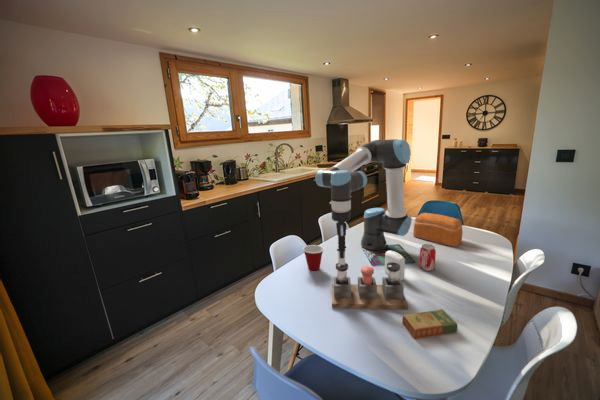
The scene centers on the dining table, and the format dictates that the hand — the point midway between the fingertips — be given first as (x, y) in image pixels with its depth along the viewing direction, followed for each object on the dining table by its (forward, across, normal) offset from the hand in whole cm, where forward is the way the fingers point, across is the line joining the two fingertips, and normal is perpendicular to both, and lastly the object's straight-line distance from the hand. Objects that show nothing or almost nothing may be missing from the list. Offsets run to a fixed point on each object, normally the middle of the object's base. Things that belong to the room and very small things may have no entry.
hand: (341, 263), depth 110 cm
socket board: (+16, 0, +10) cm, 19 cm away
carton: (+17, +17, +30) cm, 38 cm away
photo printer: (+16, -18, +26) cm, 36 cm away
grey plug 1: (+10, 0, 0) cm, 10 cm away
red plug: (+12, 0, +10) cm, 16 cm away
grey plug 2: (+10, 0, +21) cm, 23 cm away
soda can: (+16, -26, +44) cm, 53 cm away
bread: (+16, -63, +62) cm, 90 cm away
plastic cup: (+16, -24, -14) cm, 32 cm away
